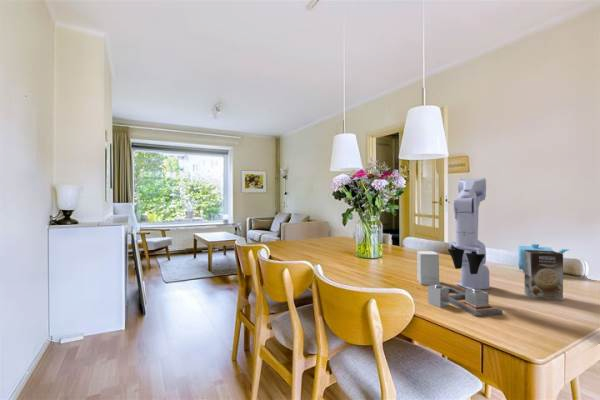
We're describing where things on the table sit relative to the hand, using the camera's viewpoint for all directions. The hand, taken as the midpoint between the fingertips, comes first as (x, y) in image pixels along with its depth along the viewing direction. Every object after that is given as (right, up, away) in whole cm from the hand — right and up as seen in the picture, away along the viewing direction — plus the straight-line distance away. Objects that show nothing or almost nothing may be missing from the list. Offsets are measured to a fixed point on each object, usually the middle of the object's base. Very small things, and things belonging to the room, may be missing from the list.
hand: (465, 271), depth 103 cm
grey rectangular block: (-2, -10, -9) cm, 14 cm away
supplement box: (-4, -10, +21) cm, 23 cm away
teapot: (+54, -9, +32) cm, 63 cm away
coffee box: (+27, -10, 0) cm, 29 cm away
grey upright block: (-11, -10, -4) cm, 16 cm away
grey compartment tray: (-2, -10, -2) cm, 11 cm away
